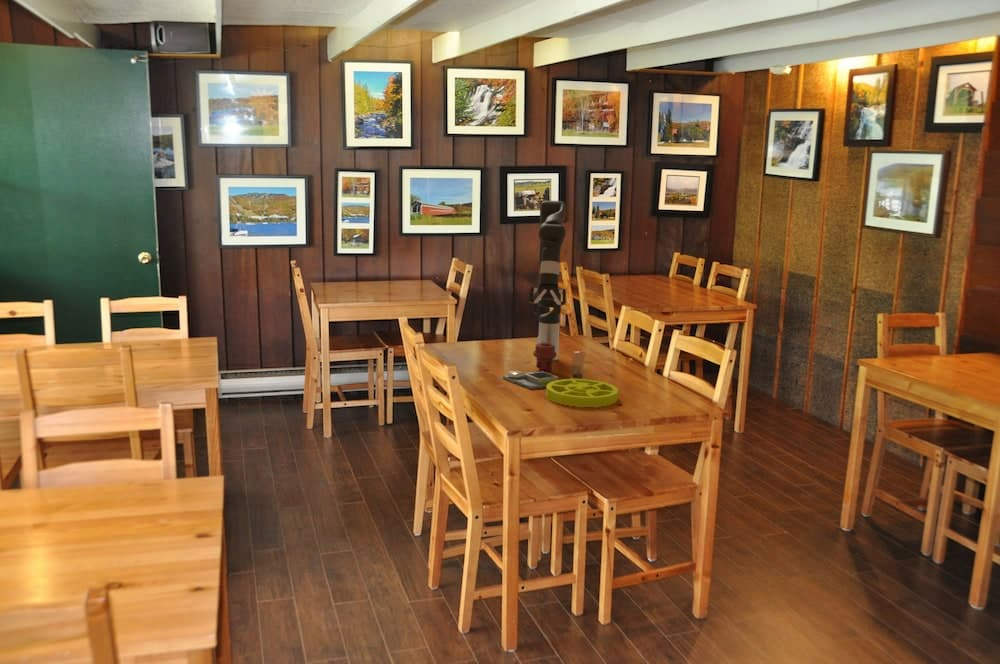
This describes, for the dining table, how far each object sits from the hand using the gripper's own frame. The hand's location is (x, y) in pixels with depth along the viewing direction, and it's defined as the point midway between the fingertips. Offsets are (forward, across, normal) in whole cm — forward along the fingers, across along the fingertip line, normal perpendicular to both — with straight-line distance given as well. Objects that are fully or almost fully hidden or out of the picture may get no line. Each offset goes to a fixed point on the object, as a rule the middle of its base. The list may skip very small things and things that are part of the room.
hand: (546, 314), depth 349 cm
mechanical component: (+18, 0, -42) cm, 46 cm away
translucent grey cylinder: (+22, -15, -30) cm, 40 cm away
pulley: (+32, -16, -4) cm, 36 cm away
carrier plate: (+25, +4, -23) cm, 34 cm away
